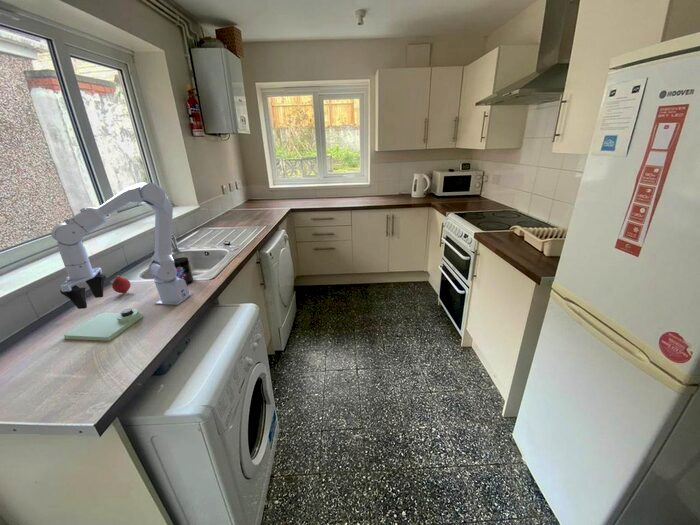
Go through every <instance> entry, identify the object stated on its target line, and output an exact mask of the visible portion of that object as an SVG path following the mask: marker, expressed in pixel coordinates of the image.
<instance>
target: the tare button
mask: <svg viewBox="0 0 700 525" xmlns="http://www.w3.org/2000/svg"><path fill="white" fill-rule="evenodd" d="M132 309H133V308H125V309H123V310H122V311H121V312H120V313H121V314H122V317H126V316H129V315H131V314H133V312H132Z"/></svg>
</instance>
